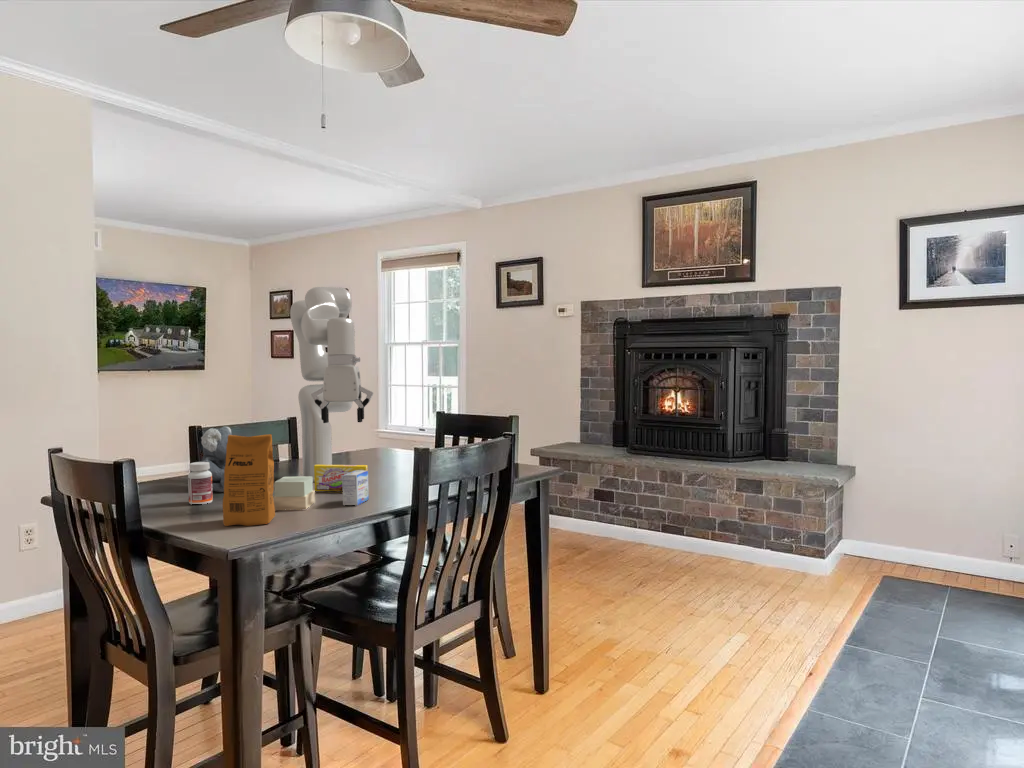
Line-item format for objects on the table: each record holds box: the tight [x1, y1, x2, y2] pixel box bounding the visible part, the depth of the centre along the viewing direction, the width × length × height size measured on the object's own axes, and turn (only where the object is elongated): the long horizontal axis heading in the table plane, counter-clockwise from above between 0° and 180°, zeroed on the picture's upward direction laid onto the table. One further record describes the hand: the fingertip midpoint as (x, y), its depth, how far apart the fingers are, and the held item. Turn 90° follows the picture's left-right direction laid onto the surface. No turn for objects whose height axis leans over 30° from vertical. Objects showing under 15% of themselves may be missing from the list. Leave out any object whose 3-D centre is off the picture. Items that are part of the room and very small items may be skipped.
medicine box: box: [342, 470, 370, 507], centre depth 193 cm, size 8×4×9 cm, turn 168°
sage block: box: [273, 476, 314, 497], centre depth 189 cm, size 8×8×4 cm
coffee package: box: [222, 434, 276, 527], centre depth 172 cm, size 10×12×22 cm
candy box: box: [314, 464, 369, 491], centre depth 209 cm, size 16×2×8 cm, turn 86°
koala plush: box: [200, 425, 233, 493], centre depth 216 cm, size 17×18×20 cm
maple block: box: [273, 489, 316, 511], centre depth 189 cm, size 9×9×4 cm
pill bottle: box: [187, 461, 214, 505], centre depth 194 cm, size 6×6×11 cm
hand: (342, 422), depth 194 cm, fingers open, 9 cm apart
